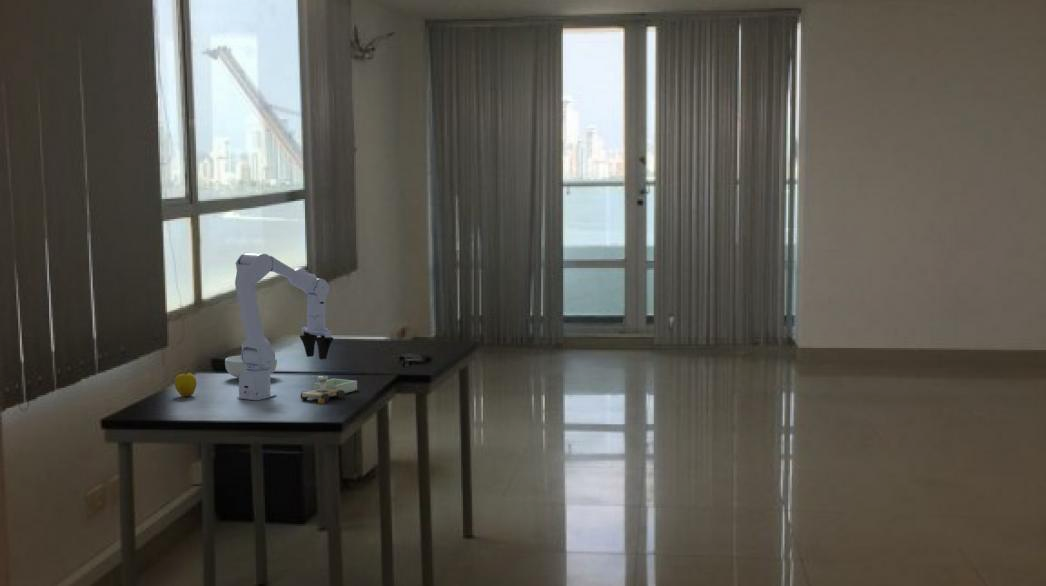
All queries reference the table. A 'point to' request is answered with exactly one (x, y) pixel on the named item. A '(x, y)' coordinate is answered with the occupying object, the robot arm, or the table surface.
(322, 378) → the stop pin
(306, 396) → the toy car
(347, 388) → the tray
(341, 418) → the table surface
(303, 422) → the table surface
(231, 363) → the cereal bowl
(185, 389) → the apple
